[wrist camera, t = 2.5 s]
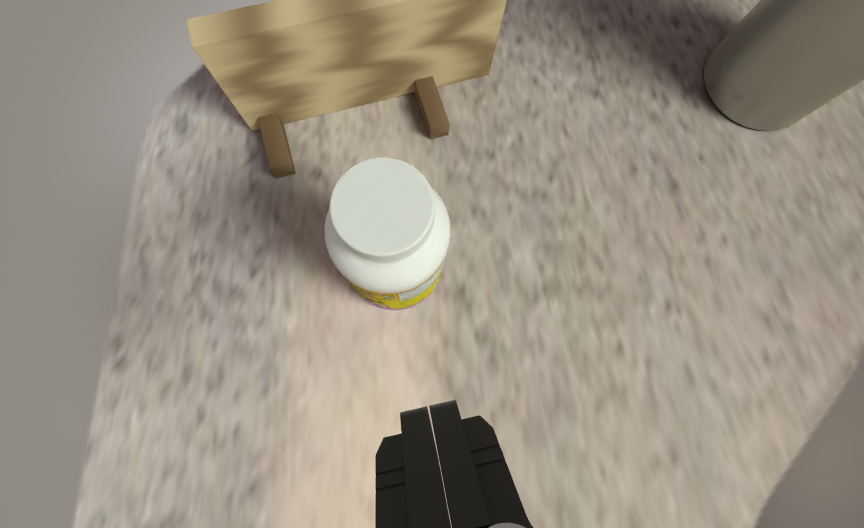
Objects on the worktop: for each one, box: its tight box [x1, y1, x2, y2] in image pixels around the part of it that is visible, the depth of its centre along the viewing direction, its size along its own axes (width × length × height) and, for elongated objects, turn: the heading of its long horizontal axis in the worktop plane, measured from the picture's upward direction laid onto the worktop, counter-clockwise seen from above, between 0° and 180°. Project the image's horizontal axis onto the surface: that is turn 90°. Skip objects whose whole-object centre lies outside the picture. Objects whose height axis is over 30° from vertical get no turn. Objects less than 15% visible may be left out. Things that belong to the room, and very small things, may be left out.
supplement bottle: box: [324, 157, 450, 310], centre depth 24 cm, size 7×7×13 cm
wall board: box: [187, 0, 507, 178], centre depth 29 cm, size 20×6×9 cm, turn 107°
